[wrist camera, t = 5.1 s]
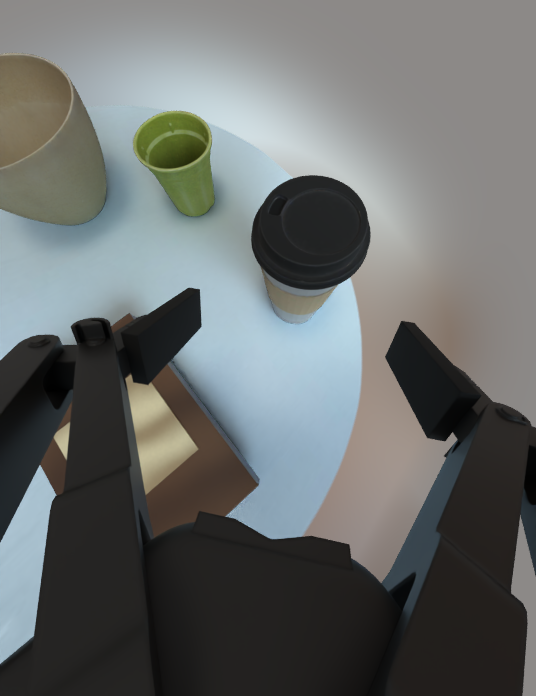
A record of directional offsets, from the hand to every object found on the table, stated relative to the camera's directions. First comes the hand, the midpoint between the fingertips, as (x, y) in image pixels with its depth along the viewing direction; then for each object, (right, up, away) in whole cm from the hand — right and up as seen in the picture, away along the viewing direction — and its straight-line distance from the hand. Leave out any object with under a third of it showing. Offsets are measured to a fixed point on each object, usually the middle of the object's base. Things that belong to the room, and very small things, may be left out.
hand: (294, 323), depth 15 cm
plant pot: (-13, +21, +21) cm, 32 cm away
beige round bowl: (-31, +21, +21) cm, 43 cm away
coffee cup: (+2, +4, +16) cm, 17 cm away
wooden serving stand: (-16, -12, +12) cm, 24 cm away
